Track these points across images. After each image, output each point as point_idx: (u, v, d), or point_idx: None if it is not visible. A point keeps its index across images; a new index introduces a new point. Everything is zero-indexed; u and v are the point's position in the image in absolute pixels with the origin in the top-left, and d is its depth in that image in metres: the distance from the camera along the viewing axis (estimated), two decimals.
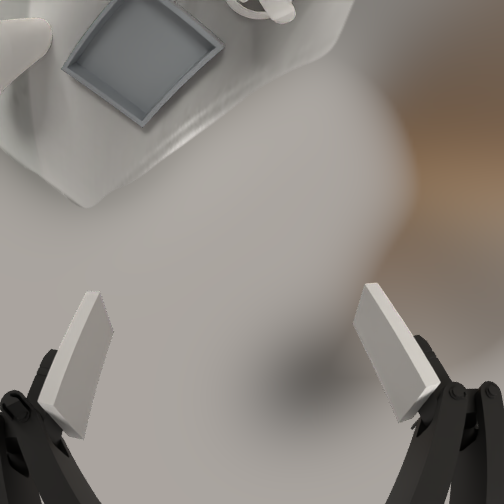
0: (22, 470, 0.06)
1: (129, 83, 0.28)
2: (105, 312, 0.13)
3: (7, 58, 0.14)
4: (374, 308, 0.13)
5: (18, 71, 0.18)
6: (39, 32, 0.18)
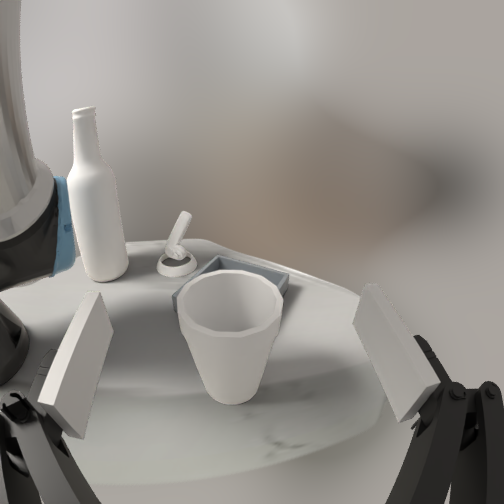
0: (22, 470, 0.06)
1: None
2: (105, 312, 0.13)
3: None
4: (374, 308, 0.13)
5: None
6: None
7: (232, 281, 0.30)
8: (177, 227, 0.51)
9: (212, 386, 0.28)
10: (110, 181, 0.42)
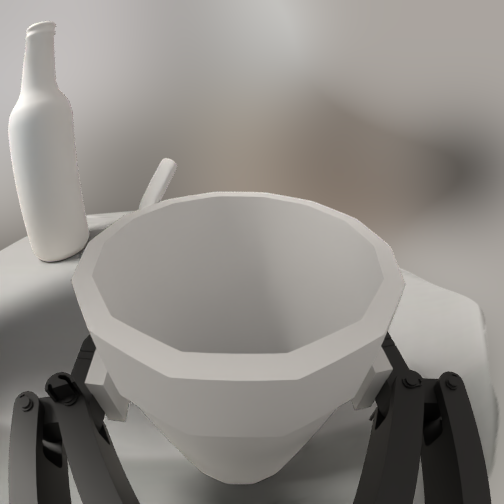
0: (55, 459, 0.07)
1: None
2: None
3: None
4: None
5: None
6: None
7: (243, 219, 0.12)
8: (155, 180, 0.33)
9: (197, 463, 0.10)
10: (63, 114, 0.25)
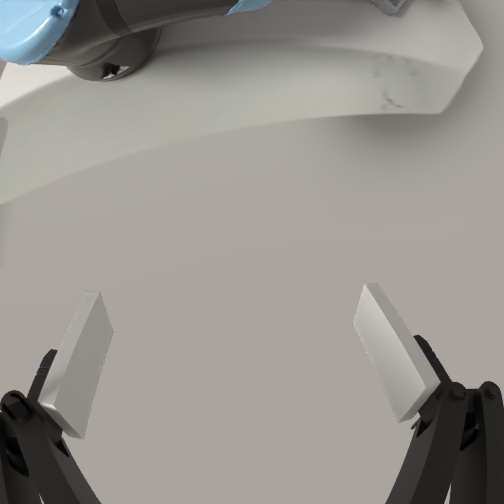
0: (22, 470, 0.06)
1: None
2: (105, 312, 0.13)
3: None
4: (374, 308, 0.13)
5: None
6: None
7: None
8: None
9: None
10: None
